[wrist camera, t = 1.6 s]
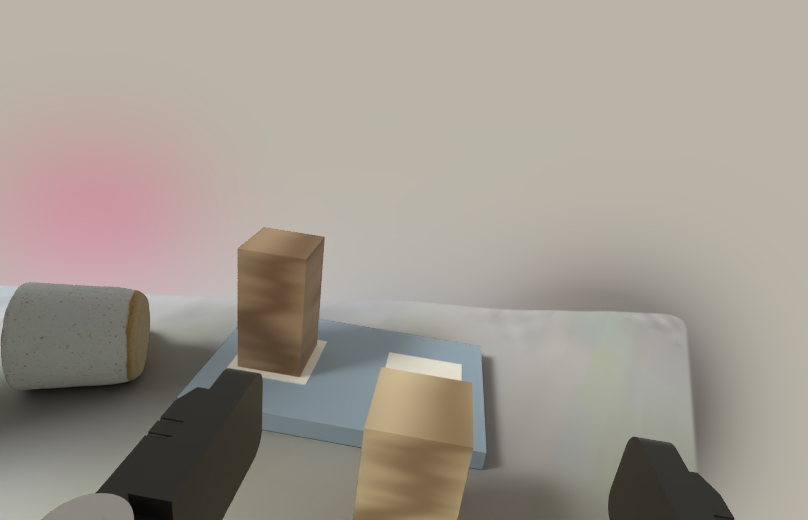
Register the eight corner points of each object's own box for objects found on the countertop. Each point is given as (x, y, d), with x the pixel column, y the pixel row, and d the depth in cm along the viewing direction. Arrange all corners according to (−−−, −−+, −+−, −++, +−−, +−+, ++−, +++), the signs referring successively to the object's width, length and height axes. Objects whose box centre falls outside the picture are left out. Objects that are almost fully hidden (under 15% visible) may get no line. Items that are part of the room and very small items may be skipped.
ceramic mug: (141, 401, 37) (134, 308, 34) (7, 413, 34) (-12, 313, 32) (159, 330, 46) (154, 251, 44) (54, 334, 44) (42, 251, 41)
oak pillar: (346, 578, 27) (364, 428, 23) (363, 502, 31) (381, 366, 28) (440, 597, 26) (473, 447, 23) (443, 517, 31) (472, 382, 27)
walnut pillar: (237, 366, 40) (237, 248, 36) (261, 334, 44) (263, 227, 41) (299, 377, 39) (306, 259, 36) (317, 344, 44) (324, 236, 40)
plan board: (177, 414, 36) (176, 395, 36) (253, 321, 49) (253, 307, 49) (482, 469, 35) (486, 451, 34) (478, 359, 48) (481, 345, 47)
